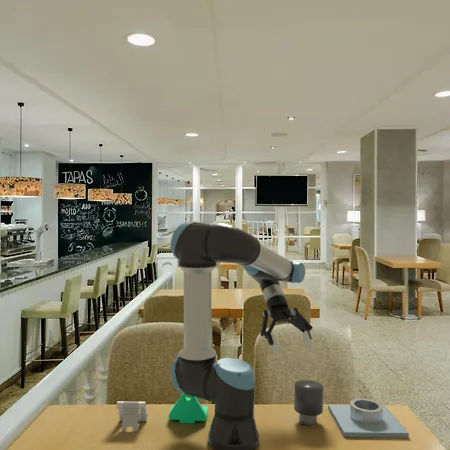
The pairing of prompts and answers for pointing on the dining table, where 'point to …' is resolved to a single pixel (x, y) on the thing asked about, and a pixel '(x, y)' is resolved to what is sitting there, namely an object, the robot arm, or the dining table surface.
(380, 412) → the pale grey faceted ring
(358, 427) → the board
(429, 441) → the dining table surface
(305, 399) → the dome-topped grey cylinder
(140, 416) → the portable electronic device stand
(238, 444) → the robot arm
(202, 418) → the camera mount
